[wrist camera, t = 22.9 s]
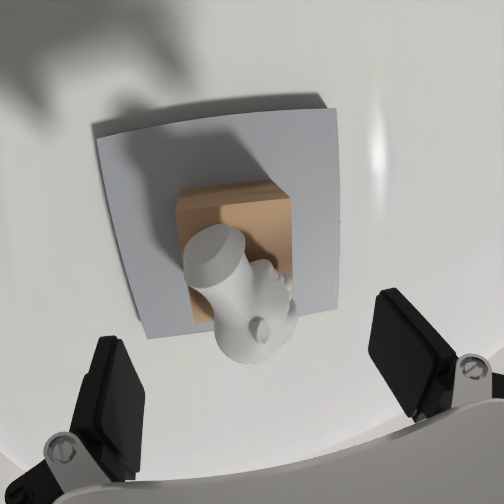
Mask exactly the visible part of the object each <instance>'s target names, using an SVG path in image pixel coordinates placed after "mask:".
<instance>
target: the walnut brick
mask: <svg viewBox="0 0 504 504" xmlns="http://www.w3.org/2000/svg"><path fill="white" fill-rule="evenodd" d="M175 215H176V222H177V228H178V234H179V240H180V247H181V252H182V258H183V264H184V249H185V246H186V244H187V243H188V241H189V240H190V239H191V238H192V237H193V236H194V235H196V234H197V233H198V232H200V231H202V230H204V229H206V228H208V227H210V226H213V225H216V224H226V225H228V226H230V227H232V228H234V229H236V230H238V231H240V232H241V233H242V234H243V235H244V237H245V250H244V253H245V255H246V258H247V260H248V262H252V261H255V260H259V259H266V260H268V261H270V262H271V264H272V265H273V268H274V269H276V270H277V271H279V272H280V273H281V274H286V275H288V276H290V278H291V279H292V299H293V266H292V218H291V198H290V197H289V196H288V195H287V194H286V193H285V192H284V191H283V190H282V189H281V188H280V187H279V186H278V185H277V184H276V183H274V182H273V181H272V180H260V181H250V182H240V183H231V184H222V185H213V186H205V187H196V188H189V189H181V191H180V194H179V198H178V202H177V205H176V209H175ZM187 286H188V291H189V296H190V302H191V307H192V312H193V317H194V321H195V324H196V323H204V322H213V321H214V311H213V308H212V306H211V304H210V303H209V301H208V300H207V299H206V298H205V297H204V296H203V295H202V294H201V293H200V292H198V291H197V290H195V289H194V288H192V287H190V286H189V285H188V284H187Z"/></svg>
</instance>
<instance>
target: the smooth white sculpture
mask: <svg viewBox="0 0 504 504" xmlns="http://www.w3.org/2000/svg"><path fill="white" fill-rule="evenodd" d="M244 250H245V237H244V235H243V234H242V233H241V232H240V231H238V230H236V229H234V228H232V227H230V226H228V225H226V224H216V225H213V226H210V227H208V228H206V229H204V230H202V231H200V232H198V233H197V234H196V235H194V236H193V237H192V238H191V239H190V240H189V241H188V243H187V244H186V246H185V249H184V280H185V282H186V283H187V284H188V285H189V286H190V287H192V288H194V289H195V290H197V291H198V292H200V293H201V294H202V295H203V296H204V297H205V298H206V299H207V300H208V301H209V303H210V304H211V306H212V308H213V311H214V333H215V338H216V341H217V344H218V346H219V347H220V349H221V350H222V352H223V353H224V354H225V355H226V356H227V357H229V358H230V359H232V360H234V361H236V362H238V363H242V364H256V363H260V362H263V361H266V360H268V359H270V358H271V357H273V356H274V355H275V354H277V353H278V352H279V351H280V350H281V349H282V348H283V347H284V346H285V345H286V344H287V342H288V341H289V339H290V338H291V336H292V335H293V333H294V330H295V328H296V325H297V320H298V311H297V307H296V305H295V302H294V300H293V299H292V279H291V278H290V276H288V275H286V274H281V273H280V272H279V271H277V270H276V269H274V268H273V265H272V264H271V262H270V261H268V260H266V259H259V260H255V261H252V262H248V260H247V258H246V255H245V253H244Z"/></svg>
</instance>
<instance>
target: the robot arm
mask: <svg viewBox="0 0 504 504" xmlns="http://www.w3.org/2000/svg"><path fill="white" fill-rule="evenodd" d="M368 352H369V355H370V357H371V359H372V360H373V362H374V364H375V365H376V367H377V368H378V370H379V372H380V373H381V375H382V376H383V378H384V380H385V381H386V383H387V384H388V386H389V388H390V389H391V391H392V392H393V394H394V396H395V397H396V399H397V401H398V402H399V404H400V406H401V407H402V409H403V410H404V412H405V414H406V415H407V416H408V417H412V419H413V421H414V422H415V423H416V424H414V425H411V426H409V427H406V428H404V429H401V430H399V431H396V432H393V433H391V434H388V435H386V436H383V437H380V438H377V439H374V440H372V441H369V442H366V443H363V444H360V445H357V446H353V447H350V448H347V449H344V450H340V451H337V452H334V453H330V454H327V455H323V456H319V457H315V458H312V459H308V460H304V461H299V462H295V463H291V464H286V465H281V466H276V467H271V468H266V469H261V470H255V471H249V472H243V473H236V474H229V475H221V476H213V477H203V478H192V479H178V480H162V481H133V482H125V480H135V476H136V472H139V471H140V460H141V443H142V428H143V416H144V404H145V391H144V388H143V386H142V384H141V382H140V380H139V377H138V375H137V373H136V371H135V369H134V366H133V364H132V362H131V360H130V357H129V355H128V353H127V350H126V348H125V346H124V343H123V341H122V340H121V339H117V337H116V336H114V335H113V336H103V337H100V338H99V340H98V343H97V346H96V349H95V353H94V356H93V359H92V362H91V366H90V369H89V372H88V373H87V374H86V375H85V376H84V378H83V381H82V385H81V388H80V392H79V395H78V399H77V402H76V406H75V410H74V414H73V418H72V422H71V426H70V430H69V432H59V433H57V434H54V435H53V436H52V437H50V438H49V439H48V441H47V442H46V444H45V446H44V457H45V459H44V460H43V461H41V462H40V463H39V464H37V465H36V466H34V467H33V468H32V469H30V470H29V471H27V472H26V473H25V474H24V475H22V476H20V477H19V478H18V479H16V480H15V481H13V482H12V483H11V484H10V485H9V486H8V487H7V489H6V492H5V502H6V504H504V375H502V374H497V373H493V372H492V369H491V366H490V364H489V362H488V361H487V360H486V359H485V358H483V357H482V356H480V355H477V354H465V355H463V356H461V357H460V358H458V357H457V356H456V352H455V351H454V350H453V349H452V348H451V347H450V345H449V344H448V343H447V342H446V341H445V340H444V339H443V338H442V337H441V335H440V334H439V333H438V332H437V331H436V330H435V329H434V328H433V327H432V325H431V324H430V323H429V322H428V321H427V320H426V319H425V318H424V317H423V316H422V315H421V314H420V313H419V311H418V310H417V309H416V308H415V307H414V306H413V305H412V304H411V303H410V302H409V301H408V300H407V299H406V298H405V297H404V296H403V295H402V294H401V293H400V292H399V290H398V289H396V288H390V289H386V290H382V291H380V293H379V295H378V296H377V297H376V301H375V308H374V315H373V322H372V328H371V334H370V340H369V346H368ZM426 418H427V419H426ZM424 419H426V420H424ZM422 420H423V421H422ZM420 421H421V422H420ZM417 422H419V423H417Z"/></svg>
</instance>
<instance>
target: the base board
mask: <svg viewBox="0 0 504 504" xmlns="http://www.w3.org/2000/svg"><path fill="white" fill-rule="evenodd" d="M96 140H97V147H98V152H99V158H100V164H101V169H102V174H103V180H104V185H105V189H106V194H107V199H108V203H109V208H110V212H111V217H112V221H113V225H114V229H115V233H116V237H117V241H118V245H119V249H120V252H121V256H122V260H123V263H124V267H125V270H126V274H127V277H128V281H129V284H130V287H131V291H132V294H133V297H134V300H135V303H136V307H137V310H138V313H139V316H140V319H141V322H142V325H143V328H144V330H145V333H146V336H147V339H153V338H162V337H170V336H178V335H186V334H193V333H201V332H208V331H214V321H213V322H204V323H196V324H195V321H194V317H193V312H192V307H191V302H190V296H189V291H188V286H187V283H186V282H185V280H184V264H183V258H182V252H181V247H180V240H179V234H178V228H177V222H176V215H175V209H176V205H177V202H178V198H179V194H180V191H181V189H189V188H196V187H205V186H213V185H222V184H231V183H240V182H250V181H260V180H272V181H273V182H274V183H276V184H277V185H278V186H279V187H280V188H281V189H282V190H283V191H284V192H285V193H286V194H287V195H288V196H289V197H290V198H291V218H292V266H293V300H294V302H295V305H296V307H297V311H298V316H303V315H309V314H314V313H319V312H324V311H329V310H333V309H337V306H338V286H339V256H340V177H339V148H338V128H337V112H336V108H323V109H295V110H278V111H264V112H252V113H242V114H233V115H224V116H216V117H208V118H201V119H194V120H187V121H181V122H175V123H169V124H163V125H158V126H152V127H147V128H142V129H137V130H132V131H128V132H123V133H119V134H114V135H110V136H106V137H102V138H98V139H96Z"/></svg>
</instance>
